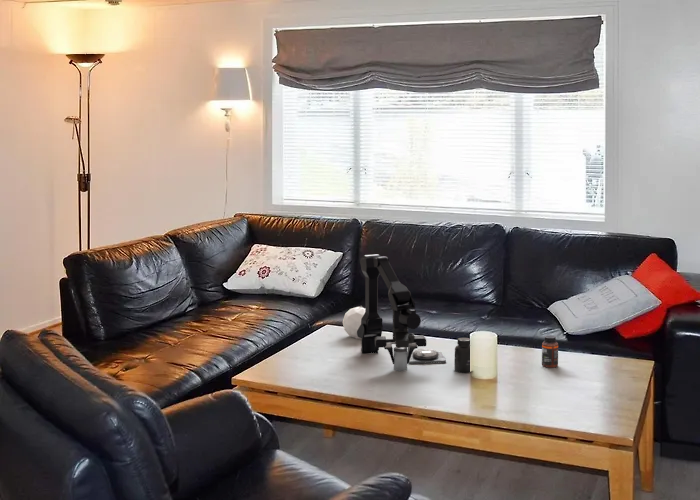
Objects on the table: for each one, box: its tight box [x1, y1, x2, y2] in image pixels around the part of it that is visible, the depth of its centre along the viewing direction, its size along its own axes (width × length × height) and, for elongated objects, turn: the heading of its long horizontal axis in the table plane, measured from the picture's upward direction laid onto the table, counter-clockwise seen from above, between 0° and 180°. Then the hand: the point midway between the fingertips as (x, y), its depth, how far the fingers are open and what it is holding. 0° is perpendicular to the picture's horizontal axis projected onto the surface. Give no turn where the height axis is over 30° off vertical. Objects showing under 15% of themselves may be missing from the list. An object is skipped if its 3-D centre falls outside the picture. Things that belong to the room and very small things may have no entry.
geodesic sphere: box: [342, 305, 365, 340], centre depth 350 cm, size 14×14×14 cm
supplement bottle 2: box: [541, 334, 559, 369], centre depth 306 cm, size 6×6×11 cm
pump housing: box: [393, 346, 408, 372], centre depth 305 cm, size 5×5×8 cm
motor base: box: [408, 347, 447, 365], centre depth 318 cm, size 14×12×3 cm
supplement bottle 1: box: [453, 337, 471, 374], centre depth 302 cm, size 7×7×12 cm
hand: (400, 363), depth 305 cm, fingers closed on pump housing, 5 cm apart
